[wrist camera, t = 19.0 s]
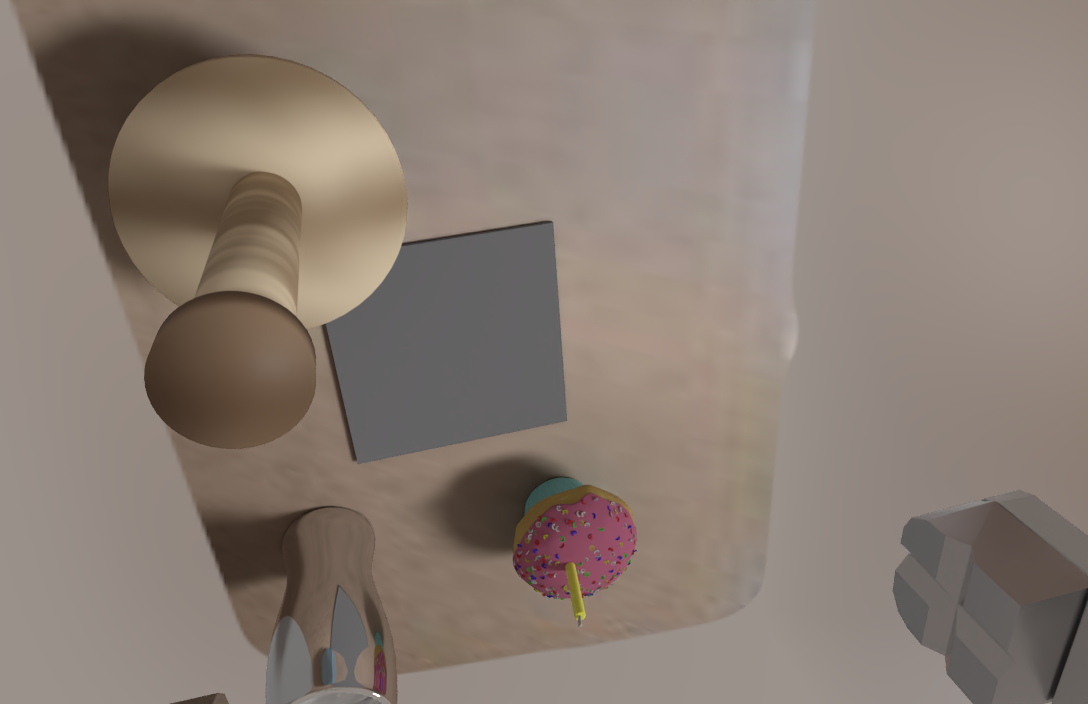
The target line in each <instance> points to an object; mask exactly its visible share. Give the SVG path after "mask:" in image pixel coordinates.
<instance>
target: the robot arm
mask: <svg viewBox="0 0 1088 704" xmlns="http://www.w3.org/2000/svg"><path fill="white" fill-rule="evenodd" d="M901 544H902V545H903V547H904V548H905V549H906V550H907V552H908V553H909V554H908V555H907V556H906V557H905V559H904V560H903V561H902V563H901V564H900V565H899V566H898V567H897V569H896V570H895V577H894V585H893V593H894V597H895V600H896V605H897V608H898V612H899V614H900V615H901V617H902V619H903V621H904V623H905V624H906V626H907V628H908V629H909V630H910V632H911V633H912V634H913V635H914V636H915V637H916V639H917V640H918V641H919V642H920V643H921V645H924V646H926V647H928V648H930V649H932V650H934V651H936V652H938V653H940V654H943V655H945V661H946V671H947V674H948V676H949V677H950V678H951V679H952V680H953V681H954V683H955V684H956V685H957V686H958V687H959V688H960V689H961V690H962V692H963V693H964V694H965V695H966V696H967V697H968V698H969V700H970V701H971V702H972V703H973V704H1045V703H1049V702H1052V704H1088V535H1086V534H1085V533H1084V532H1082V531H1081V530H1080V529H1078V528H1077V527H1076V526H1074V525H1073V524H1072V523H1070V522H1069V521H1068V520H1067V519H1065V518H1064V517H1063V516H1061V515H1060V514H1059V513H1057V512H1056V511H1054V510H1053V509H1052V508H1051V507H1049V506H1048V505H1047V504H1045V503H1044V502H1043V501H1041V500H1040V499H1039V498H1037V497H1036V496H1034V495H1032V494H1030V493H1027V492H1024V491H1021V490H1017V491H1013V492H1009V493H1005V494H1001V495H997V496H993V497H990V498H986V499H983V500H981V501H973V502H969V503H965V504H962V505H958V506H954V507H950V508H947V509H943V510H939V511H935V512H931V513H927V514H924V515H920V516H916V517H913V518H911V519H910V520H909V521H908V523H907V524H906V525H905V526H904V529H903V534H902V538H901ZM171 704H229V703H228V701H227V698H226V696H225V694H223V693H216V694H211V695H207V696H202V697H198V698H194V699H190V700H185V701H180V702H176V703H171Z"/></svg>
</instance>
